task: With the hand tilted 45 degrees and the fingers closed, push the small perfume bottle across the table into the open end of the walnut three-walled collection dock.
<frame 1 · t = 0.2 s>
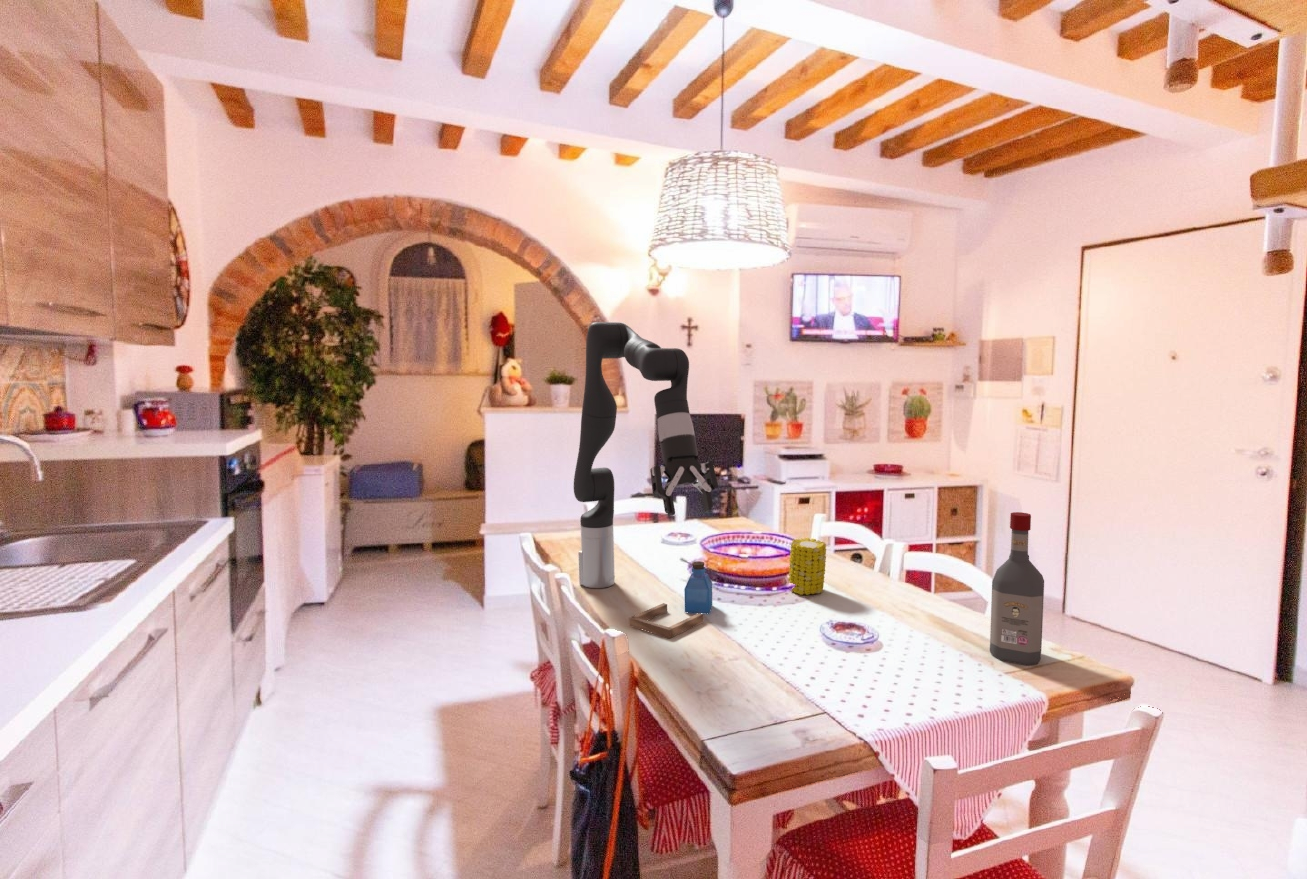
hand: (690, 513, 140), 31 cm above the table, tool tilted 20°, fingers open, 8 cm apart
perfume bottle: (698, 610, 173), on the table
liquor: (1015, 656, 142), on the table
dock: (665, 624, 163), on the table
food: (807, 592, 185), on the table
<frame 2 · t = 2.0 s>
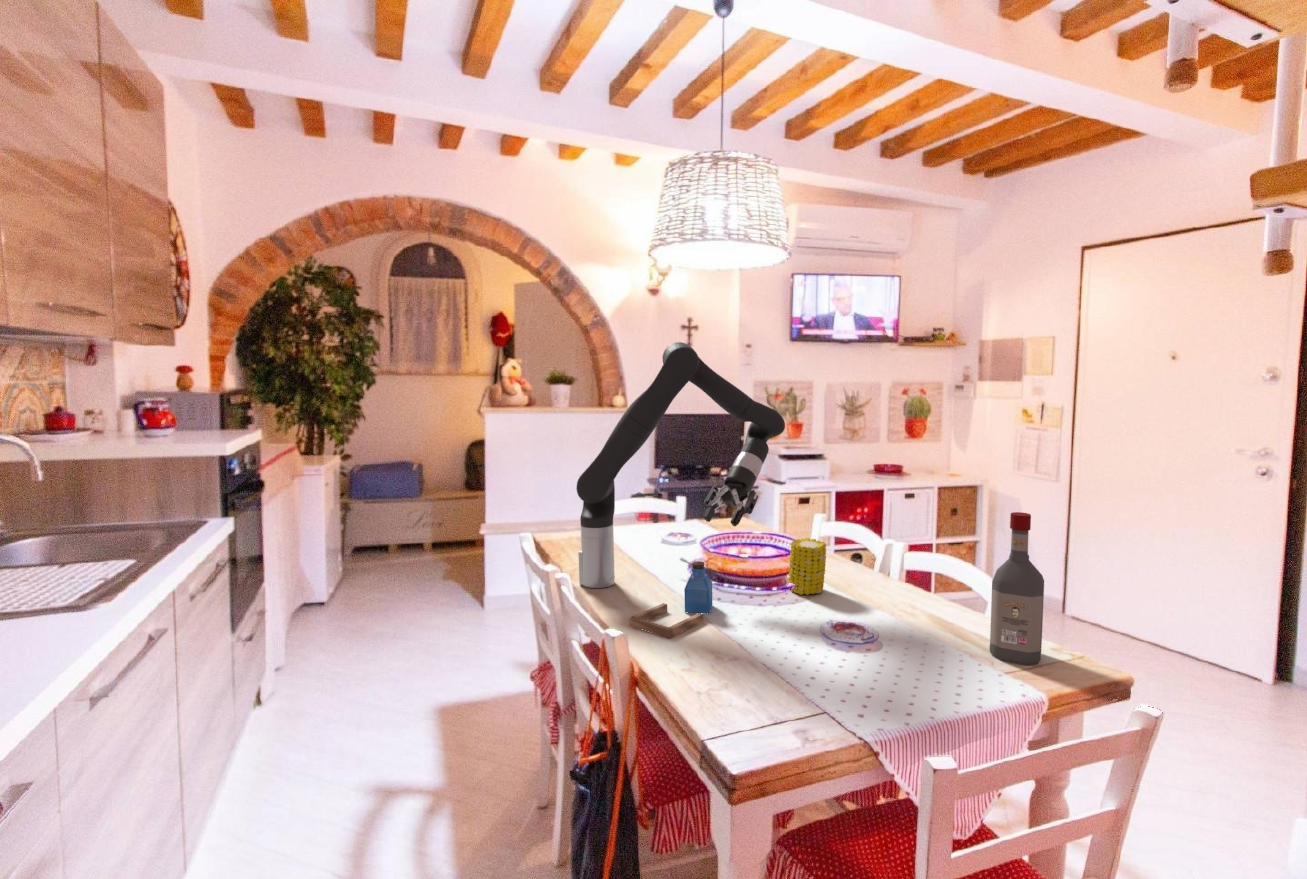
hand: (719, 522, 177), 21 cm above the table, tool tilted 45°, fingers open, 8 cm apart
nothing on the table moved.
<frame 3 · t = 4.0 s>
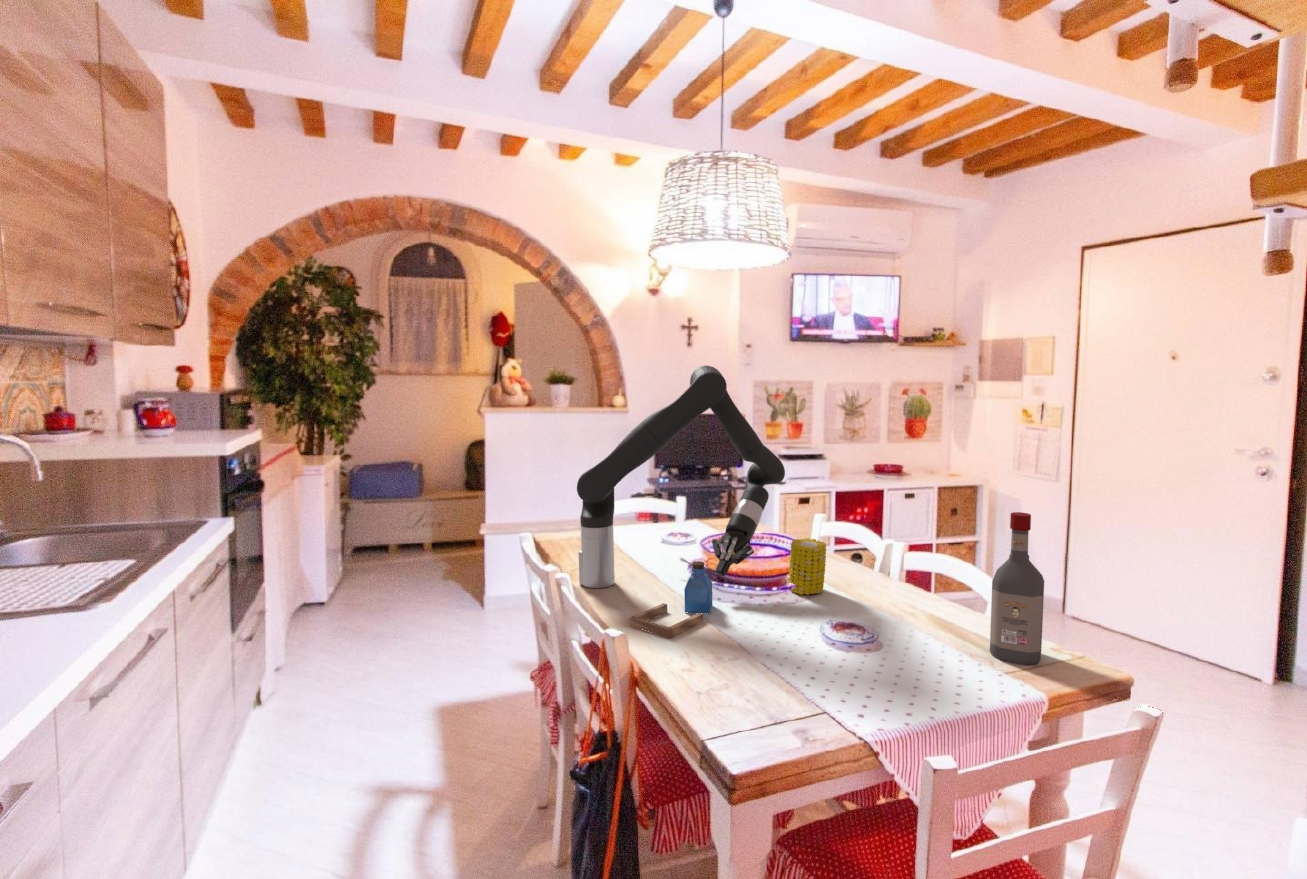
hand: (719, 574, 178), 7 cm above the table, tool tilted 45°, fingers closed
nothing on the table moved.
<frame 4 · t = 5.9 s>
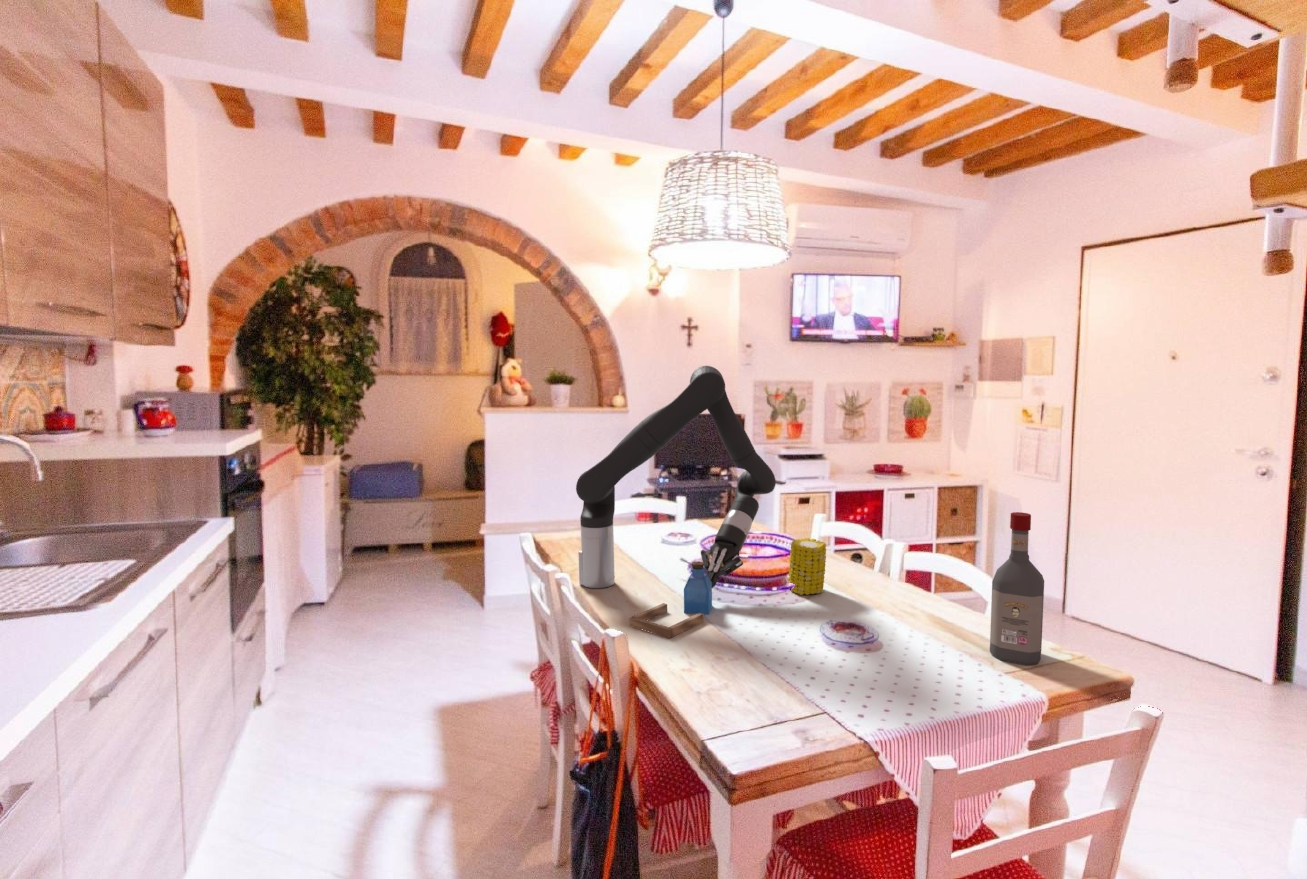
hand: (708, 586, 175), 5 cm above the table, tool tilted 45°, fingers closed
nothing on the table moved.
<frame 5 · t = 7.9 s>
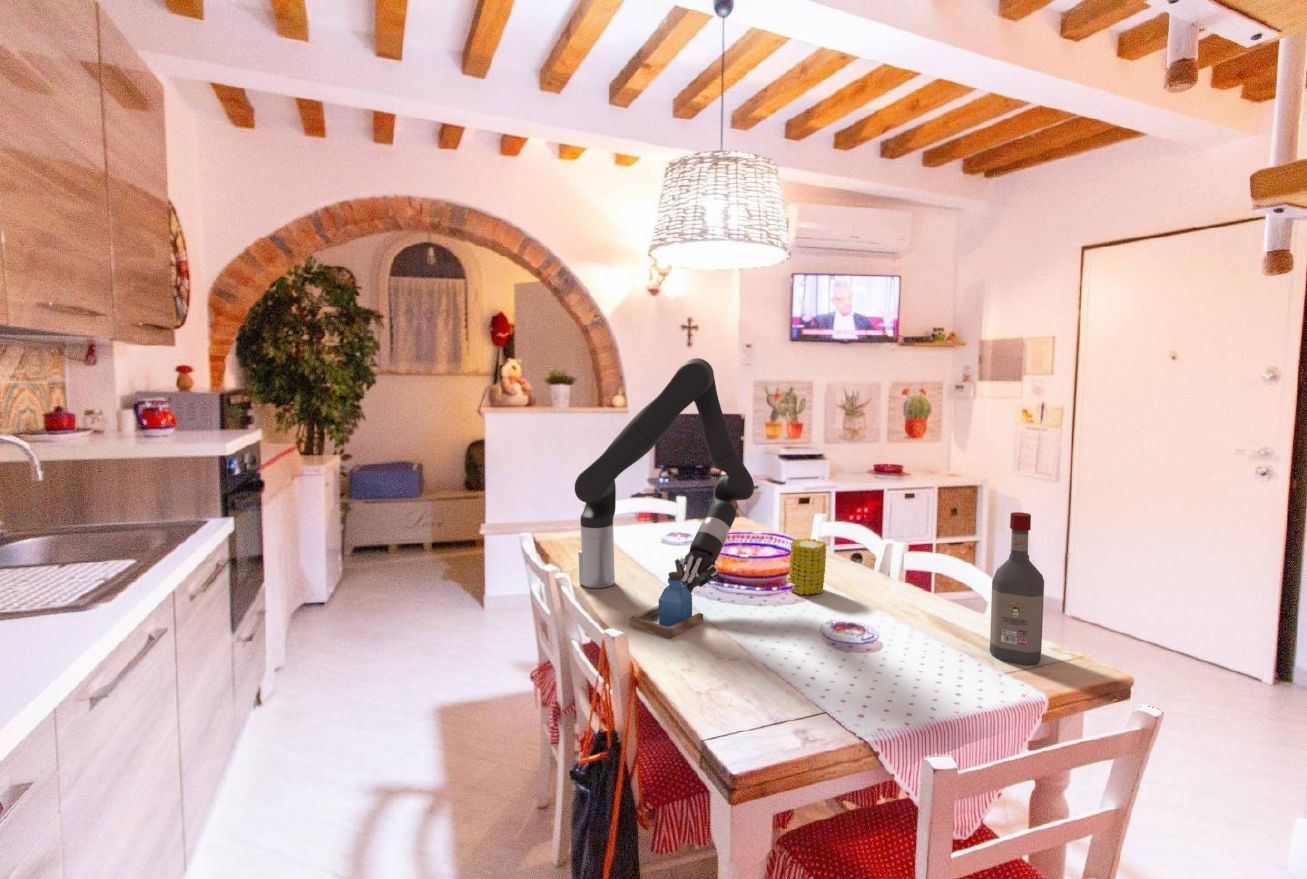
hand: (682, 598, 167), 5 cm above the table, tool tilted 45°, fingers closed
perfume bottle: (675, 623, 164), on the table, touching gripper
everything else where it was.
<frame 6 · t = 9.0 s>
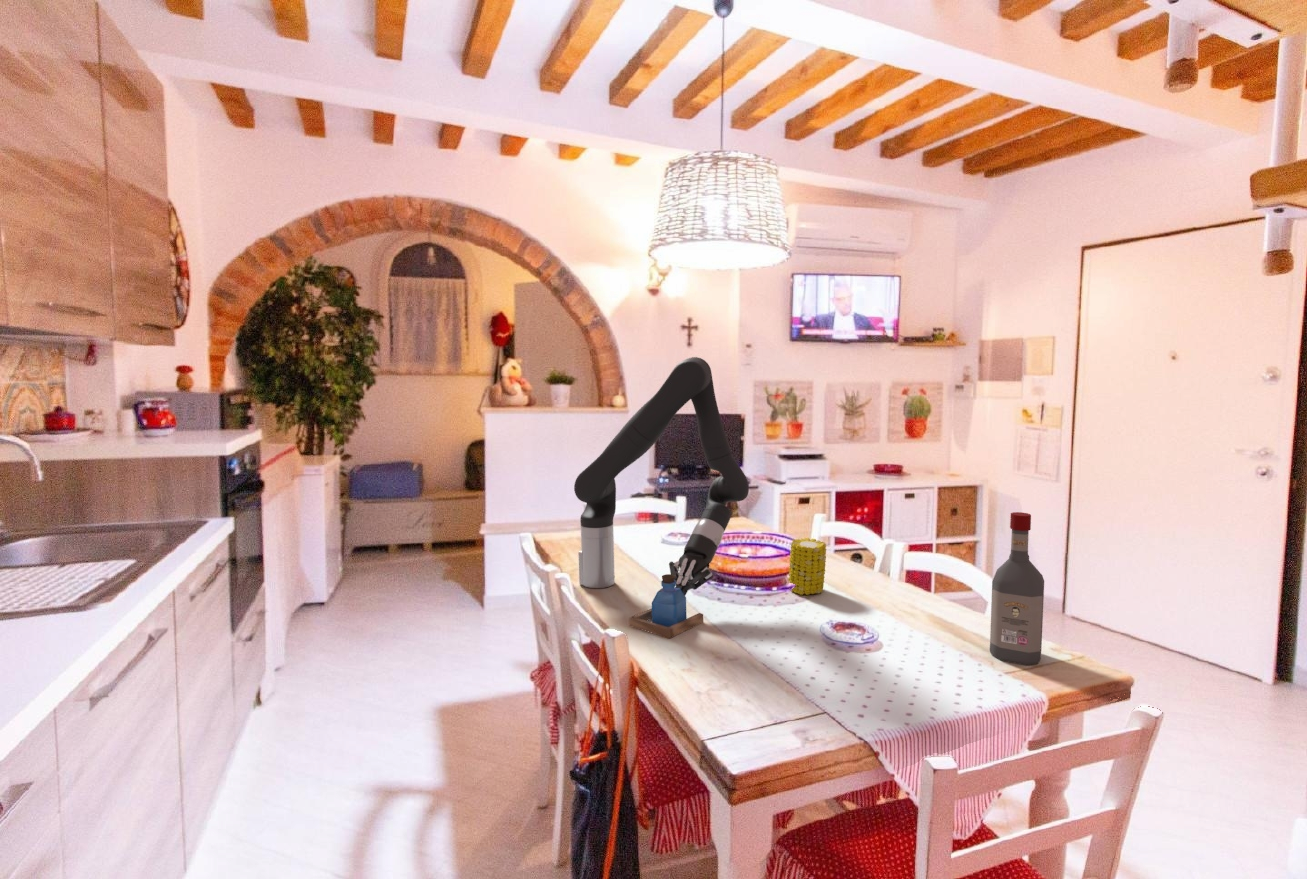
hand: (675, 601, 165), 5 cm above the table, tool tilted 45°, fingers closed
perfume bottle: (669, 626, 162), on the table, touching dock, gripper
everything else where it was.
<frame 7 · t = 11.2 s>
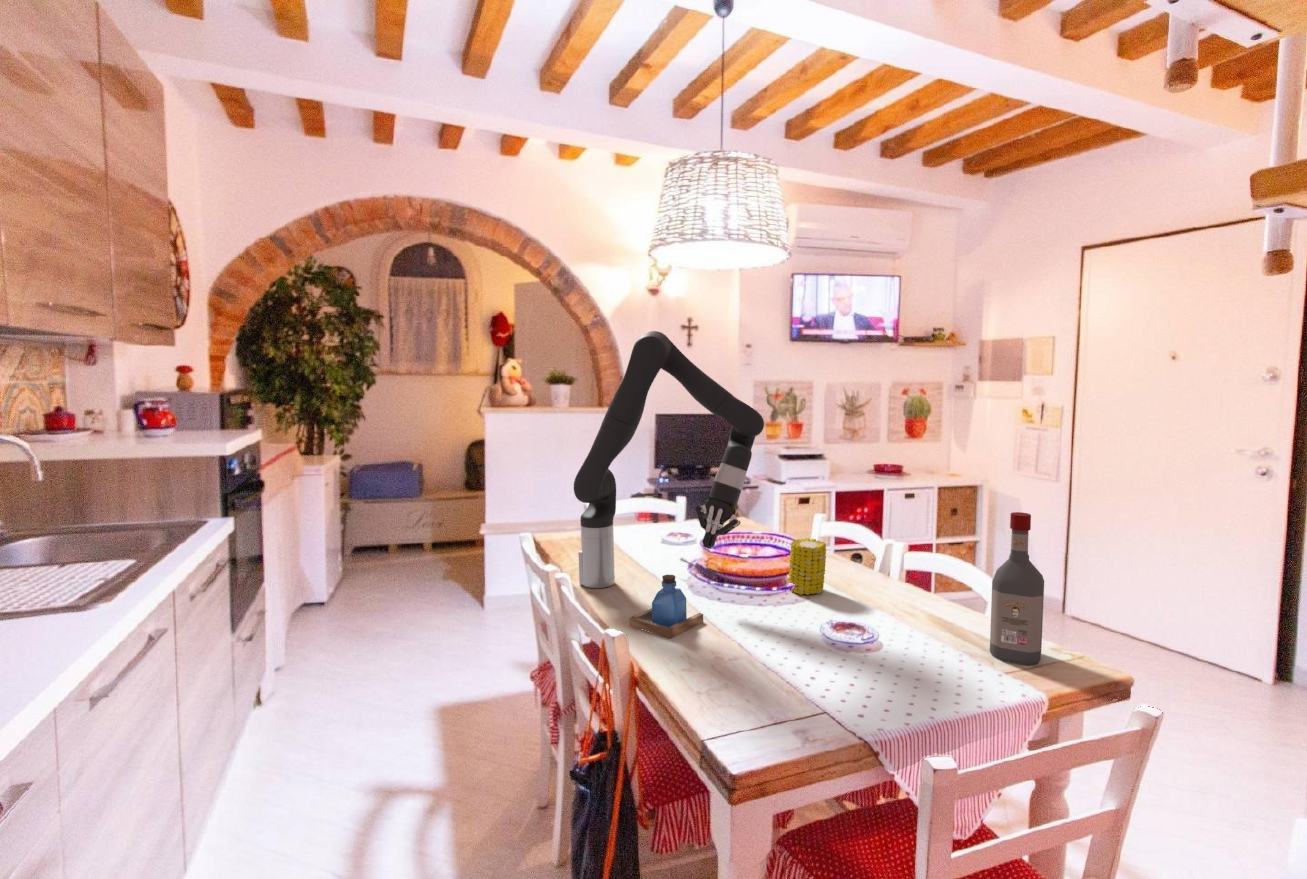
hand: (707, 547, 176), 15 cm above the table, tool tilted 20°, fingers closed
perfume bottle: (669, 626, 162), on the table
everything else where it was.
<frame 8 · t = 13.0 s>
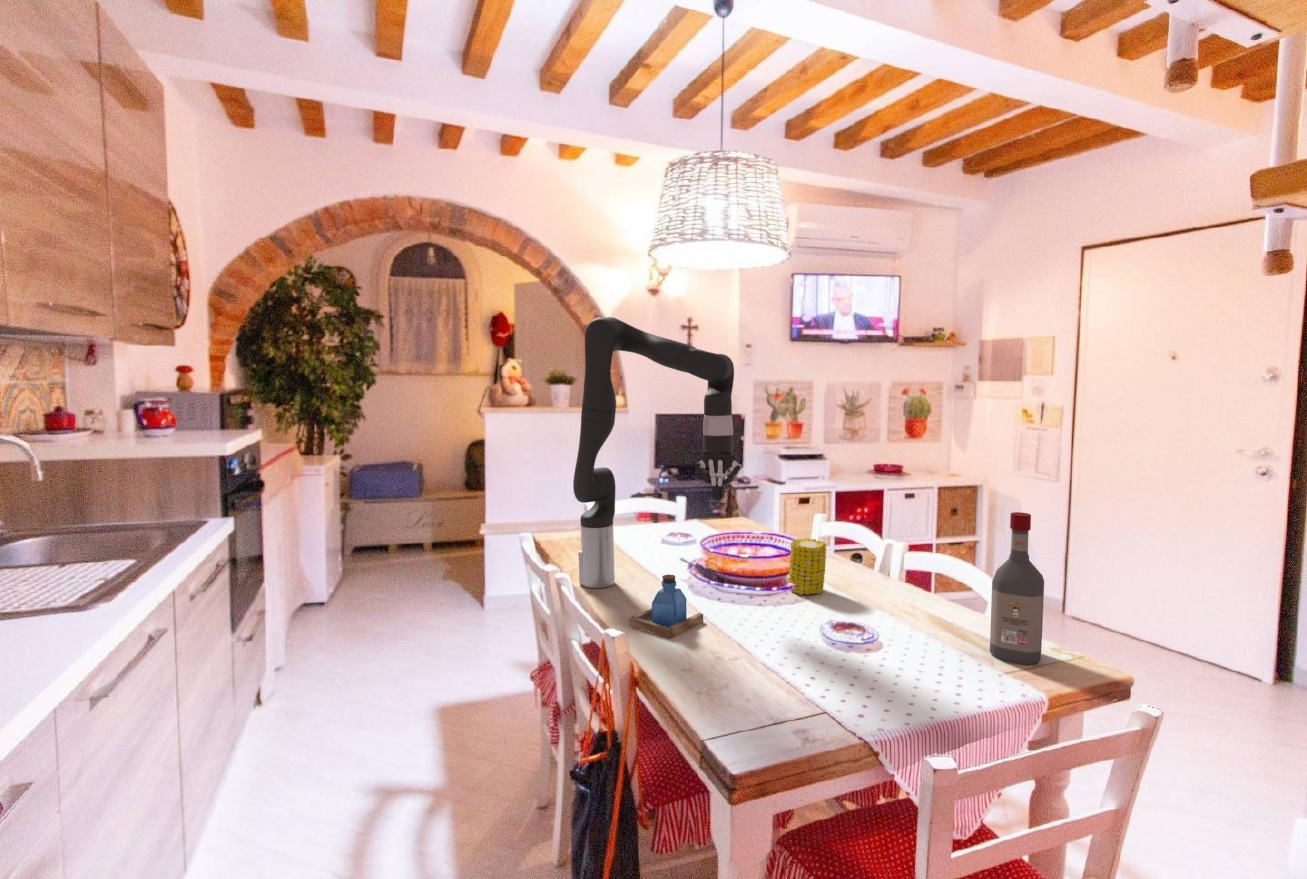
hand: (718, 499, 175), 27 cm above the table, tool pointing down, fingers closed
nothing on the table moved.
at the end: perfume bottle 1.2 cm from the dock (horizontally); perfume bottle tilted 0°; perfume bottle moved 13.1 cm from its start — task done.
